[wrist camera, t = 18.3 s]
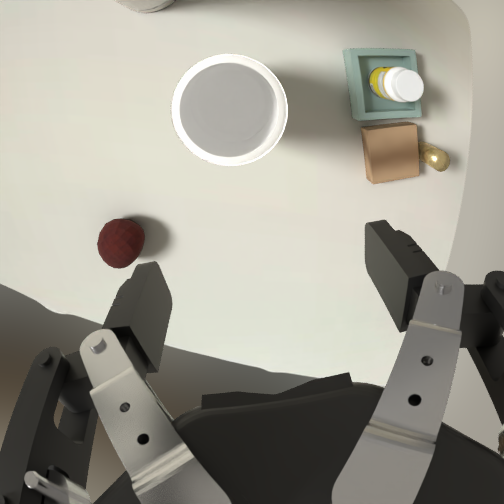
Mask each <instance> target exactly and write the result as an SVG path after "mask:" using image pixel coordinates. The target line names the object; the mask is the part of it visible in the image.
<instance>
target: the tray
mask: <svg viewBox="0 0 504 504" xmlns="http://www.w3.org/2000/svg"><path fill="white" fill-rule="evenodd" d="M343 55H344V61H345V67H346V73H347V80H348V87H349V94H350V102H351V110H352V118H354V119H356V120H359V121H362V120H374V119H389V118H407V117H422V115H421V100H420V98H419V99H418V100H416V101H413V102H409V101H408V102H397V101H393V100H388V99H383V98H379V97H377V96H375V95H374V94H373V93H372V92H371V91H370V89H369V87H368V75H369V73H370V72H371V71H372V70H373V69H374V68H377V67H403V68H406V69H408V70H412V71H414V72H416V73H417V74H418V69H417V61H416V54H415V50H410V49H384V48H359V49H346V50H343Z"/></svg>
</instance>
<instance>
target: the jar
mask: <svg viewBox="0 0 504 504" xmlns="http://www.w3.org/2000/svg"><path fill="white" fill-rule="evenodd" d="M287 116H288V105H287V99H286V95H285V92H284V89H283V87H282V85H281V83H280V82H279V80H278V79H277V77H276V76H275V75H274V74H273V73H272V72H271V71H270V70H269V69H268V68H267V67H266V66H264V65H263V64H261V63H260V62H258V61H256V60H254V59H252V58H249V57H246V56H243V55H237V54H220V55H215V56H211V57H208V58H206V59H203V60H201V61H199V62H198V63H196V64H195V65H193V66H192V67H191V68H190V69H188V70H187V71H186V72H185V74H184V75H183V76H182V77H181V79H180V80H179V82H178V83H177V85H176V87H175V90H174V92H173V96H172V100H171V119H172V123H173V127H174V129H175V132H176V134H177V136H178V138H179V139H180V141H181V142H182V143H183V145H184V146H185V147H186V148H187V149H188V150H189V151H190V152H191V153H193V154H194V155H195V156H197V157H199V158H200V159H202V160H204V161H207V162H209V163H212V164H216V165H221V166H238V165H244V164H247V163H250V162H253V161H255V160H257V159H259V158H261V157H263V156H264V155H265V154H267V153H268V152H269V151H270V150H271V149H272V148H273V147H274V146H275V145H276V144H277V142H278V141H279V139H280V138H281V136H282V134H283V132H284V129H285V126H286V122H287Z"/></svg>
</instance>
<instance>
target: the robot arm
mask: <svg viewBox="0 0 504 504" xmlns="http://www.w3.org/2000/svg"><path fill="white" fill-rule="evenodd" d="M114 1H116V2H118V3H120V4H122V5H123V6H125V7H127V8H129V9H131V10H133V11H136V12H141V13H150V12H155V11H158V10H161V9H163V8H165V7H167V6H169V5H170V4H172V3H173V2H174V1H175V0H114ZM365 264H366V268H367V272H368V274H369V276H370V277H371V279H372V281H373V283H374V285H375V287H376V288H377V290H378V292H379V294H380V296H381V298H382V299H383V301H384V303H385V305H386V307H387V309H388V311H389V313H390V315H391V317H392V319H393V320H394V322H395V324H396V326H397V328H398V330H399V332H404V331H406V334H405V337H404V340H403V343H402V346H401V348H400V351H399V354H398V356H397V359H396V362H395V364H394V367H393V369H392V372H391V374H390V377H389V379H388V382H387V384H386V386H385V388H383V387H380V386H377V385H373V384H368V383H360V382H352V380H351V377H350V373H349V372H348V373H343V374H339V375H334V376H330V377H325V378H320V379H315V380H312V381H309V382H307V383H304V384H302V385H300V386H297V387H295V388H292V389H290V390H287V391H285V392H282V393H279V394H274V395H271V394H258V393H246V392H230V393H220V394H208V395H202V405H201V406H199V407H196V408H194V409H191V410H189V411H187V412H185V413H184V414H182V415H180V416H179V417H178V418H176V419H175V420H174V419H173V418H172V417H171V416H170V414H169V413H168V411H167V410H166V409H165V407H164V406H163V404H162V403H161V402H160V400H159V399H158V398H157V396H156V395H155V393H154V392H153V390H152V389H151V387H150V385H149V384H148V383H147V381H146V380H145V378H146V374H147V373H154V372H158V370H159V366H160V361H161V356H162V351H163V346H164V342H165V337H166V332H167V328H168V323H169V319H170V315H171V310H172V297H171V293H170V291H169V288H168V286H167V284H166V281H165V279H164V277H163V274H162V272H161V269H160V267H159V265H158V263H157V262H155V261H154V262H148V263H143V264H138V265H137V266H136V268H135V270H134V272H133V274H132V277H131V279H127V280H126V281H125V283H124V284H123V285H122V286H121V287H120V288H119V290H118V292H117V295H116V299H114V301H113V304H112V305H113V306H111V308H110V310H109V313H108V315H107V317H106V320H105V322H104V324H103V327H102V329H101V330H97V331H95V332H93V333H91V334H90V335H89V336H88V337H86V338H85V340H84V341H83V343H82V344H81V347H80V351H78V352H75V353H72V354H69V355H66V356H64V355H63V353H62V352H61V351H60V350H59V349H58V348H57V347H49V348H46V349H44V350H43V351H41V352H40V353H39V354H38V355H37V356H36V357H35V359H34V361H33V363H32V365H31V368H30V370H29V372H28V375H27V377H26V379H25V382H24V384H23V387H22V389H21V392H20V395H19V397H18V400H17V402H16V405H15V408H14V411H13V414H12V416H11V419H10V422H9V425H8V428H7V431H6V435H5V438H4V441H3V444H2V448H1V451H0V504H92V503H91V502H90V497H89V495H88V493H87V491H86V482H87V475H88V468H89V462H90V456H91V450H92V445H93V439H94V434H95V429H96V424H97V419H98V414H99V416H100V419H101V421H102V423H103V425H104V427H105V429H106V431H107V433H108V436H109V438H110V440H111V442H112V444H113V446H114V448H115V449H116V451H117V454H118V455H119V457H120V459H121V461H122V463H123V465H124V467H125V468H126V471H125V472H124V473H123V474H122V475H121V476H120V477H119V478H118V479H117V480H116V481H115V482H114V483H113V484H112V485H111V486H110V487H109V488H108V489H107V490H106V491H105V492H104V493H103V494H102V495H101V496H100V497H99V498H98V499H97V500H96V501H95V502H94V503H93V504H504V337H503V335H502V334H503V332H504V272H503V271H492V272H490V273H488V274H487V275H486V277H485V281H484V284H482V285H465V284H464V283H463V281H462V280H461V279H460V278H459V277H458V276H456V275H455V274H453V273H451V272H447V271H439V269H438V268H437V267H436V266H435V264H434V263H433V262H432V261H431V260H430V258H429V257H428V256H427V255H426V254H425V252H424V251H422V249H421V248H420V247H419V245H417V243H416V242H415V241H414V240H413V239H412V237H411V236H409V235H408V234H406V233H404V232H402V231H400V230H397V231H395V230H394V229H393V228H392V227H391V226H390V224H389V223H388V222H387V221H386V220H380V221H374V222H369V223H366V225H365ZM459 348H467V349H468V351H469V353H470V355H471V357H472V359H473V361H474V363H475V365H476V367H477V369H478V371H479V373H480V375H481V378H482V379H483V382H484V384H485V386H486V388H487V390H488V393H489V395H490V397H491V399H492V402H493V404H494V406H495V409H496V411H497V413H498V416H499V419H500V421H501V423H502V428H501V429H500V432H499V437H498V440H499V441H498V442H499V446H498V453H499V454H500V455H499V454H498V453H496V452H495V451H493V450H491V449H489V448H488V447H486V446H484V445H482V444H480V443H478V442H477V441H475V440H473V439H471V438H470V437H468V436H466V435H464V434H462V433H461V432H459V431H457V430H455V429H454V428H452V427H450V426H448V425H446V424H445V423H443V422H442V419H443V415H444V412H445V408H446V405H447V401H448V398H449V394H450V390H451V386H452V381H453V377H454V372H455V368H456V363H457V358H458V352H459ZM58 400H59V401H60V402H61V403H62V404H63V405H64V409H63V412H62V416H61V419H60V423H59V427H58V429H57V427H56V426H55V424H54V412H55V409H56V406H57V402H58Z"/></svg>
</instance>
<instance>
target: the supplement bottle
mask: <svg viewBox="0 0 504 504" xmlns="http://www.w3.org/2000/svg"><path fill="white" fill-rule="evenodd" d="M368 87H369V89H370V91H371V92H372V93H373V94H374V95H375V96H377V97H379V98H383V99H388V100H393V101H397V102H408V101H409V102H413V101H416V100H418V99H419V98H420V97H421V96H422V94H423V91H424V84H423V81H422V79H421V77H420V76H419V75H418V74H417V73H416V72H414V71H412V70H408V69H406V68H403V67H377V68H374V69H373V70H372V71H371V72H370V73H369V75H368Z"/></svg>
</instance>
